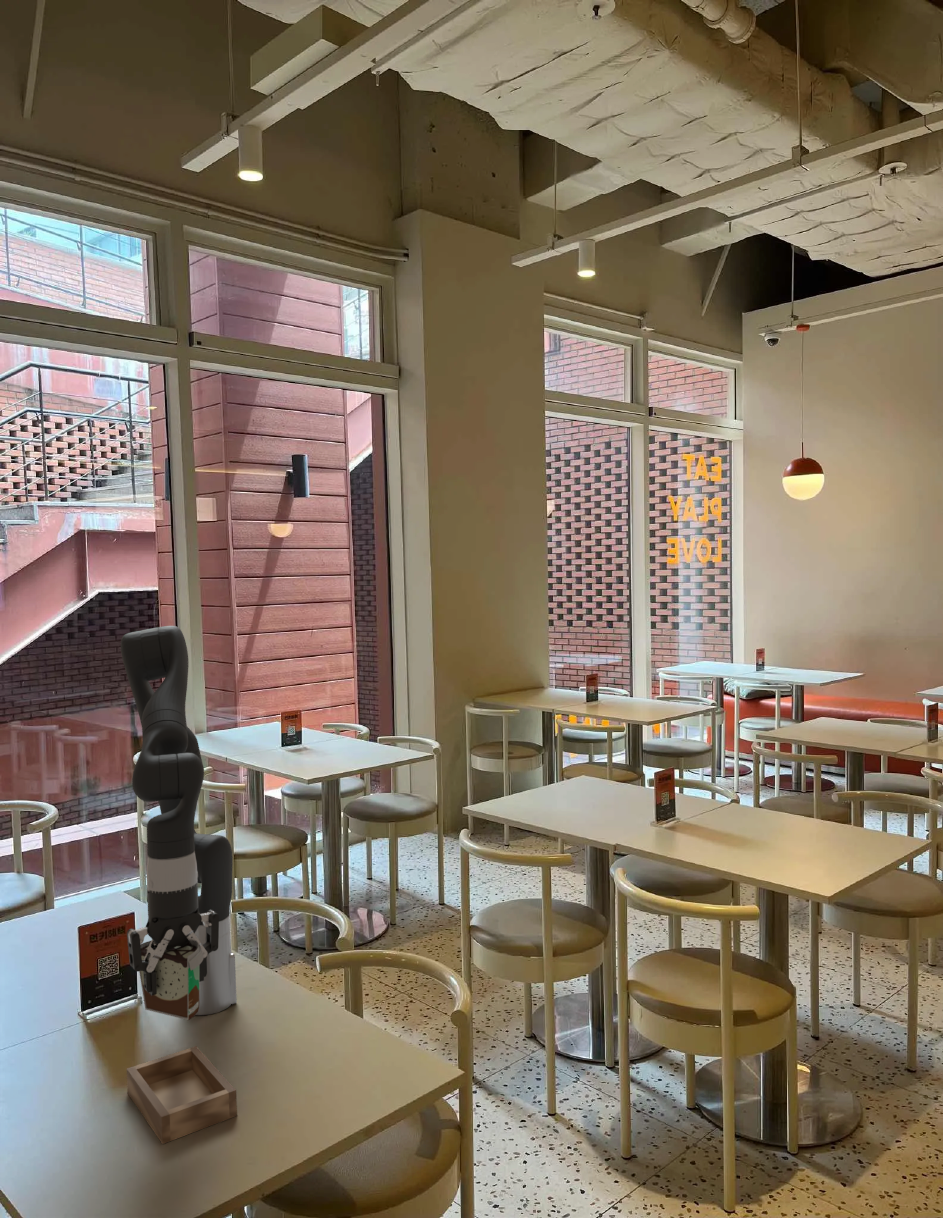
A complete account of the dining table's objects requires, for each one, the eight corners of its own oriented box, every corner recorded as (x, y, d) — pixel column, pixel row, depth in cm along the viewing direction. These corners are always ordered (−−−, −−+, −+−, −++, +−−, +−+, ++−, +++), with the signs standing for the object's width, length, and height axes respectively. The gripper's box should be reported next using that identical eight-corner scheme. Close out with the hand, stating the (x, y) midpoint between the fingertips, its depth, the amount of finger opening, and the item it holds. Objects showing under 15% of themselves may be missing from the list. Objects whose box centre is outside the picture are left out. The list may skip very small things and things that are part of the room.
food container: (224, 1003, 145) (219, 941, 145) (195, 1022, 140) (190, 957, 139) (168, 991, 151) (163, 931, 151) (138, 1008, 146) (133, 945, 145)
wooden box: (197, 1069, 156) (196, 1046, 156) (237, 1115, 142) (236, 1090, 142) (127, 1093, 149) (126, 1068, 149) (162, 1144, 135) (161, 1117, 135)
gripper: (208, 867, 152) (211, 967, 152) (118, 885, 143) (122, 991, 144) (225, 878, 146) (229, 982, 146) (132, 898, 137) (136, 1008, 138)
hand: (176, 986), depth 145 cm, fingers closed on food container, 7 cm apart
